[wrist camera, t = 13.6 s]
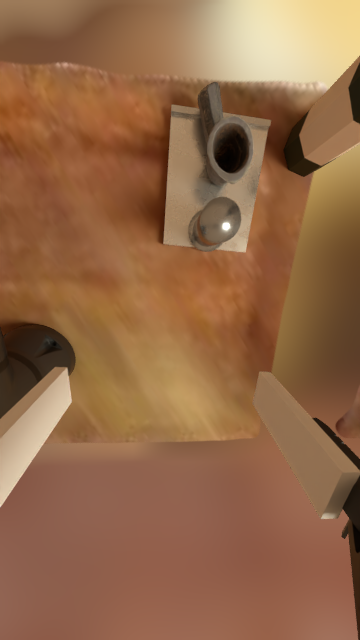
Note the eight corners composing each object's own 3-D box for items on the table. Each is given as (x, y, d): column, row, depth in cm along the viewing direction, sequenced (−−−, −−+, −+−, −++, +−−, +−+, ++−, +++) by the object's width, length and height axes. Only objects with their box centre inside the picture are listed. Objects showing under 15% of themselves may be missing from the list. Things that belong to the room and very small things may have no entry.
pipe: (221, 95, 29) (239, 43, 21) (239, 190, 33) (258, 173, 26) (184, 112, 29) (188, 66, 22) (206, 202, 34) (216, 190, 26)
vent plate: (163, 247, 37) (160, 242, 26) (171, 112, 30) (172, 33, 20) (242, 255, 38) (270, 254, 27) (265, 127, 32) (314, 60, 21)
